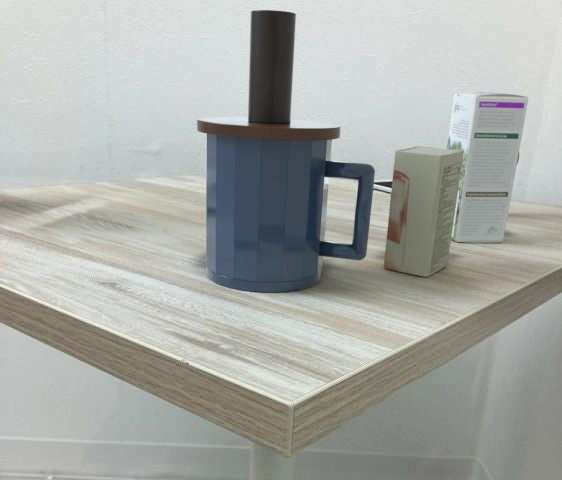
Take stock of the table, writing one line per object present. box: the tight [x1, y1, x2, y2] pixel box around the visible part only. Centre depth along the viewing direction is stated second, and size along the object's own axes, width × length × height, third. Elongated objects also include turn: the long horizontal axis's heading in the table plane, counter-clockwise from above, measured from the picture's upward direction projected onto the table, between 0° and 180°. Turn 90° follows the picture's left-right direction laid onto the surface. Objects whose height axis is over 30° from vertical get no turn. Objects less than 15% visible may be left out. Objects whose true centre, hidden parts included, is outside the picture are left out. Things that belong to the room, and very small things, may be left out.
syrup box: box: [446, 91, 529, 244], centre depth 68 cm, size 6×6×14 cm
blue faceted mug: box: [205, 133, 376, 293], centre depth 50 cm, size 13×9×11 cm
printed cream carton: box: [383, 145, 464, 278], centre depth 55 cm, size 5×4×10 cm
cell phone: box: [373, 178, 393, 194], centre depth 97 cm, size 8×16×1 cm, turn 31°
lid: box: [196, 9, 342, 141], centre depth 47 cm, size 11×11×8 cm
